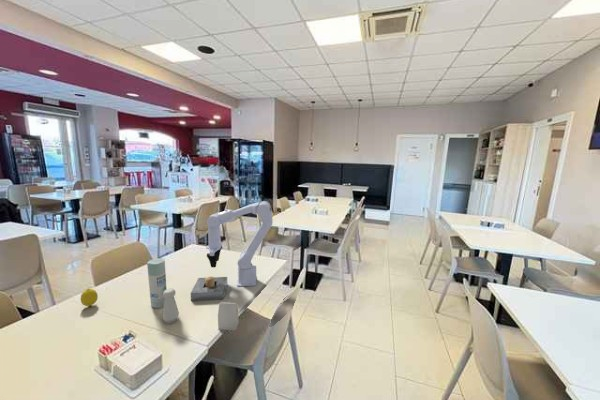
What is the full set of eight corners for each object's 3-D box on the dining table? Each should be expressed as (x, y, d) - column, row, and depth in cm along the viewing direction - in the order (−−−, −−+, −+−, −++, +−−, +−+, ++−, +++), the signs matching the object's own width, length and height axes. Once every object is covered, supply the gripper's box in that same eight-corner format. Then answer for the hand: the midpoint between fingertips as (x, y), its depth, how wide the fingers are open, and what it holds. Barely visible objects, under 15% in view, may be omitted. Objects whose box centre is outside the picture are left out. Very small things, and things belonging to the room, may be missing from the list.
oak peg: (215, 289, 123) (215, 276, 122) (213, 294, 120) (213, 280, 118) (207, 290, 123) (206, 276, 122) (205, 294, 119) (204, 280, 118)
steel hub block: (227, 284, 129) (227, 276, 128) (223, 299, 115) (222, 291, 115) (198, 285, 127) (198, 277, 126) (191, 301, 113) (190, 292, 113)
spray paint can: (160, 309, 107) (156, 265, 103) (147, 307, 108) (143, 263, 105) (170, 300, 113) (168, 259, 110) (158, 298, 114) (155, 257, 111)
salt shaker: (182, 317, 102) (180, 288, 100) (171, 326, 97) (169, 295, 94) (171, 314, 104) (169, 285, 102) (159, 322, 98) (157, 292, 96)
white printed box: (235, 330, 96) (235, 306, 94) (218, 329, 96) (217, 305, 94) (238, 324, 99) (238, 300, 98) (221, 323, 100) (221, 299, 98)
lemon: (101, 304, 109) (99, 287, 108) (86, 311, 104) (83, 293, 103) (94, 301, 111) (92, 284, 110) (78, 307, 106) (76, 290, 105)
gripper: (209, 233, 132) (209, 258, 135) (202, 243, 118) (203, 270, 121) (223, 233, 133) (223, 257, 136) (218, 243, 119) (218, 270, 122)
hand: (215, 263), depth 128 cm, fingers open, 7 cm apart
